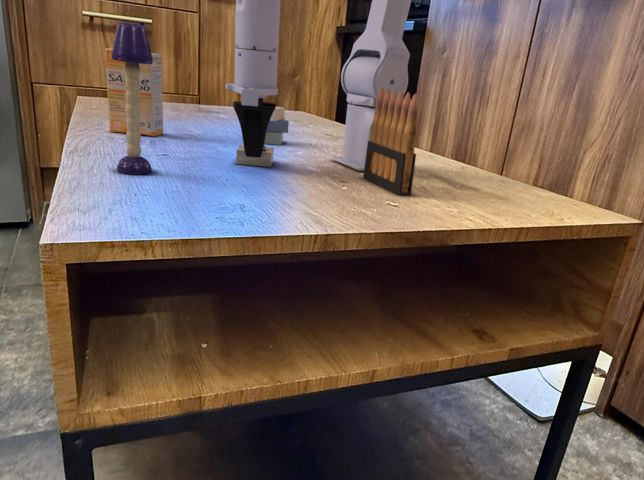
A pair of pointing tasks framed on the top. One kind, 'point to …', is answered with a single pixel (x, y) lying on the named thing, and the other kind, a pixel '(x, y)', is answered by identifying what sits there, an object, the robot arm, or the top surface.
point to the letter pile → (276, 127)
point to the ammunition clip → (392, 142)
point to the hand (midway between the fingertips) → (253, 156)
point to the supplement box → (148, 93)
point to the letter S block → (264, 160)
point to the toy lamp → (132, 90)
